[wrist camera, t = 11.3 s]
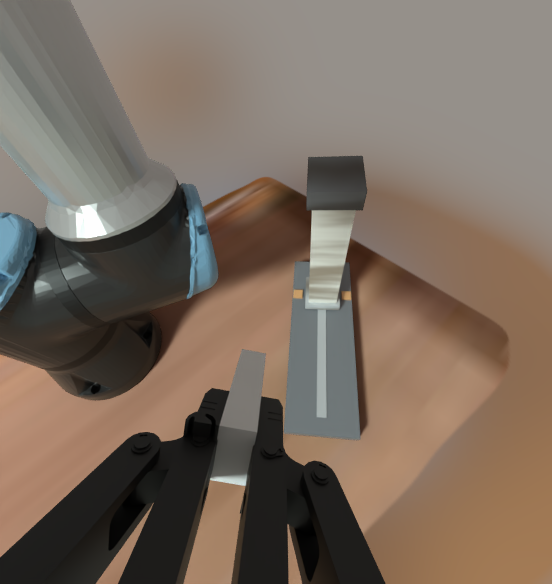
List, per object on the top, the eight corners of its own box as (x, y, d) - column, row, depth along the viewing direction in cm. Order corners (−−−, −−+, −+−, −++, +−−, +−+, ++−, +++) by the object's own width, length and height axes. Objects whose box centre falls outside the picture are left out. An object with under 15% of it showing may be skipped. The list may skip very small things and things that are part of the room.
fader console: (357, 440, 34) (360, 439, 32) (284, 433, 35) (283, 432, 33) (347, 269, 47) (349, 261, 45) (295, 268, 48) (295, 260, 47)
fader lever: (338, 310, 41) (367, 191, 23) (305, 308, 42) (306, 192, 24) (337, 282, 44) (362, 155, 26) (306, 281, 44) (308, 157, 26)
